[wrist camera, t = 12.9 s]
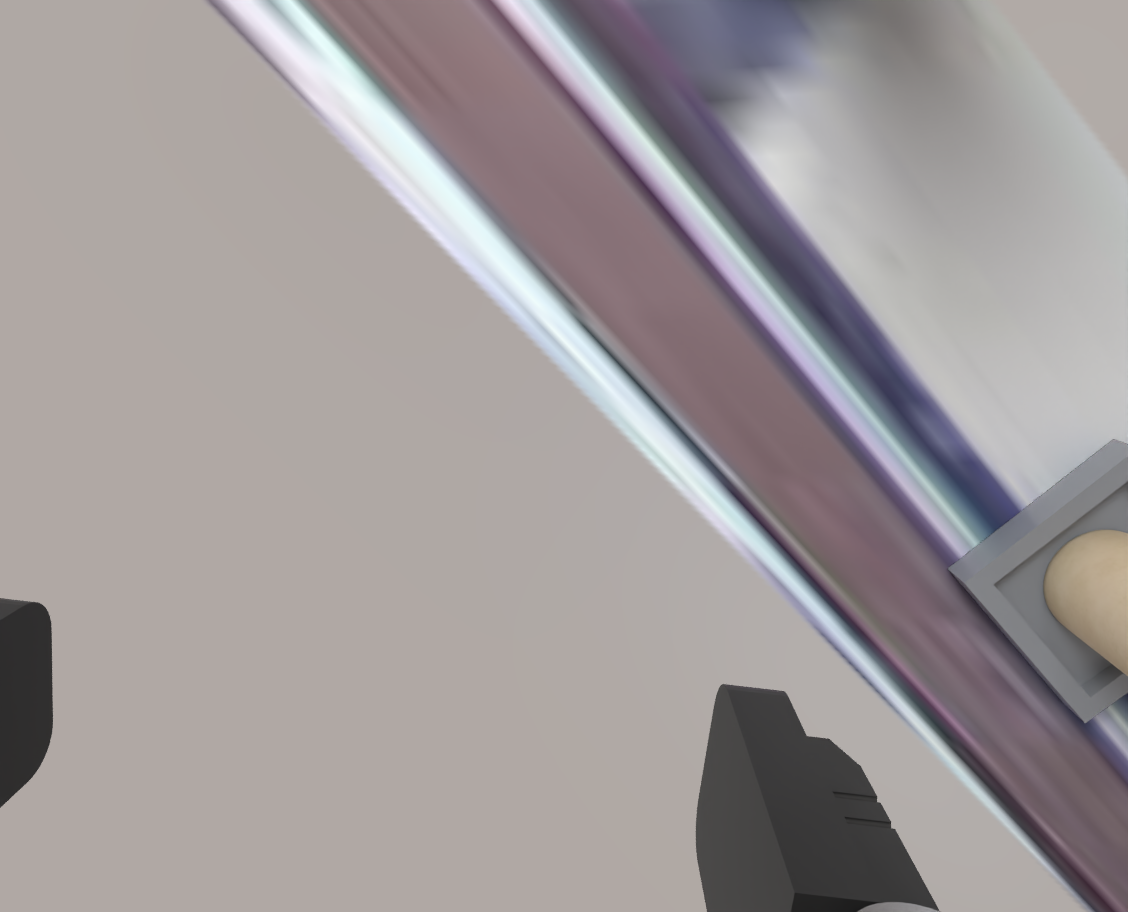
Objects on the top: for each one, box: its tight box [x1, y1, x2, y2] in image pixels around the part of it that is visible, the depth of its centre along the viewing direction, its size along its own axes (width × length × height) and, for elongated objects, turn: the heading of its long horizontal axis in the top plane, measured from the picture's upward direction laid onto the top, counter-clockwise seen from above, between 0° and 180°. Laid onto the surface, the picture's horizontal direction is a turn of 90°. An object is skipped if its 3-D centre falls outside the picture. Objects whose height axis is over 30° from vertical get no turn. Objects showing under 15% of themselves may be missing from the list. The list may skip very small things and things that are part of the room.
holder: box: [948, 439, 1128, 723], centre depth 43 cm, size 10×10×2 cm
